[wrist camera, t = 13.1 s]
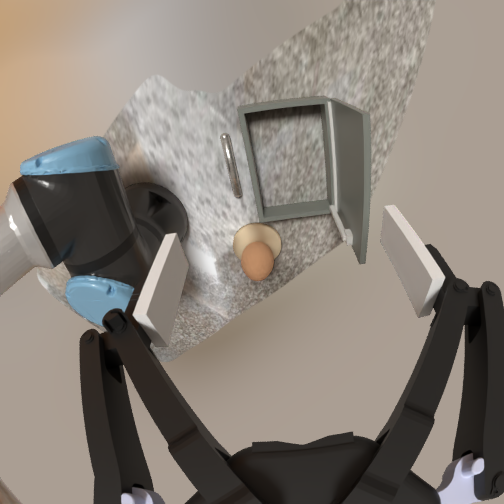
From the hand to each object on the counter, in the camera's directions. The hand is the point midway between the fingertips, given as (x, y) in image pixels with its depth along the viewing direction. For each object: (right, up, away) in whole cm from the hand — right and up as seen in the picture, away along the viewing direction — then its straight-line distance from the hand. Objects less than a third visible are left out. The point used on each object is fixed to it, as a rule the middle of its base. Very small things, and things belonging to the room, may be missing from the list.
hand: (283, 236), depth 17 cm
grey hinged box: (+4, +14, +25) cm, 29 cm away
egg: (-1, 0, +35) cm, 35 cm away
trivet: (-1, +1, +36) cm, 36 cm away
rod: (-5, +13, +27) cm, 30 cm away
